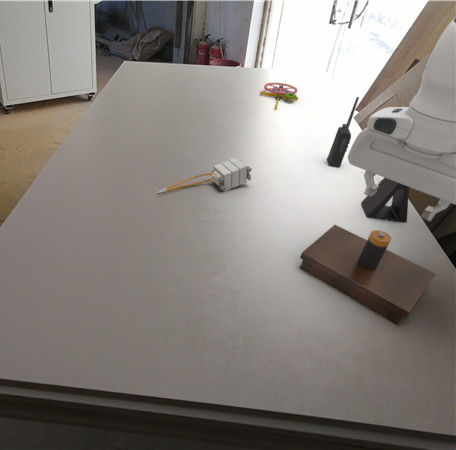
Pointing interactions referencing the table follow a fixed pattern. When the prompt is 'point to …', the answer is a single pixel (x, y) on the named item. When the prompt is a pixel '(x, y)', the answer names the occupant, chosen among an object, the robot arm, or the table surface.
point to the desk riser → (366, 274)
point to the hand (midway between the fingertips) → (396, 206)
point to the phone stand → (377, 203)
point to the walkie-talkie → (341, 142)
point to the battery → (374, 249)
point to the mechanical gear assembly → (280, 92)
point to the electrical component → (224, 175)
